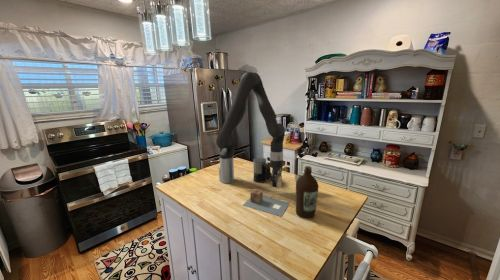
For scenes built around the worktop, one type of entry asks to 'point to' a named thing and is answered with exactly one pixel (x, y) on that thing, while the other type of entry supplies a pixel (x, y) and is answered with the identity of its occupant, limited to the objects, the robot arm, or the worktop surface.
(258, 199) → the walnut block
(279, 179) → the maple block
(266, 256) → the worktop surface
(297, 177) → the food container
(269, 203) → the mat
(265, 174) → the milk frother
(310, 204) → the olive oil
